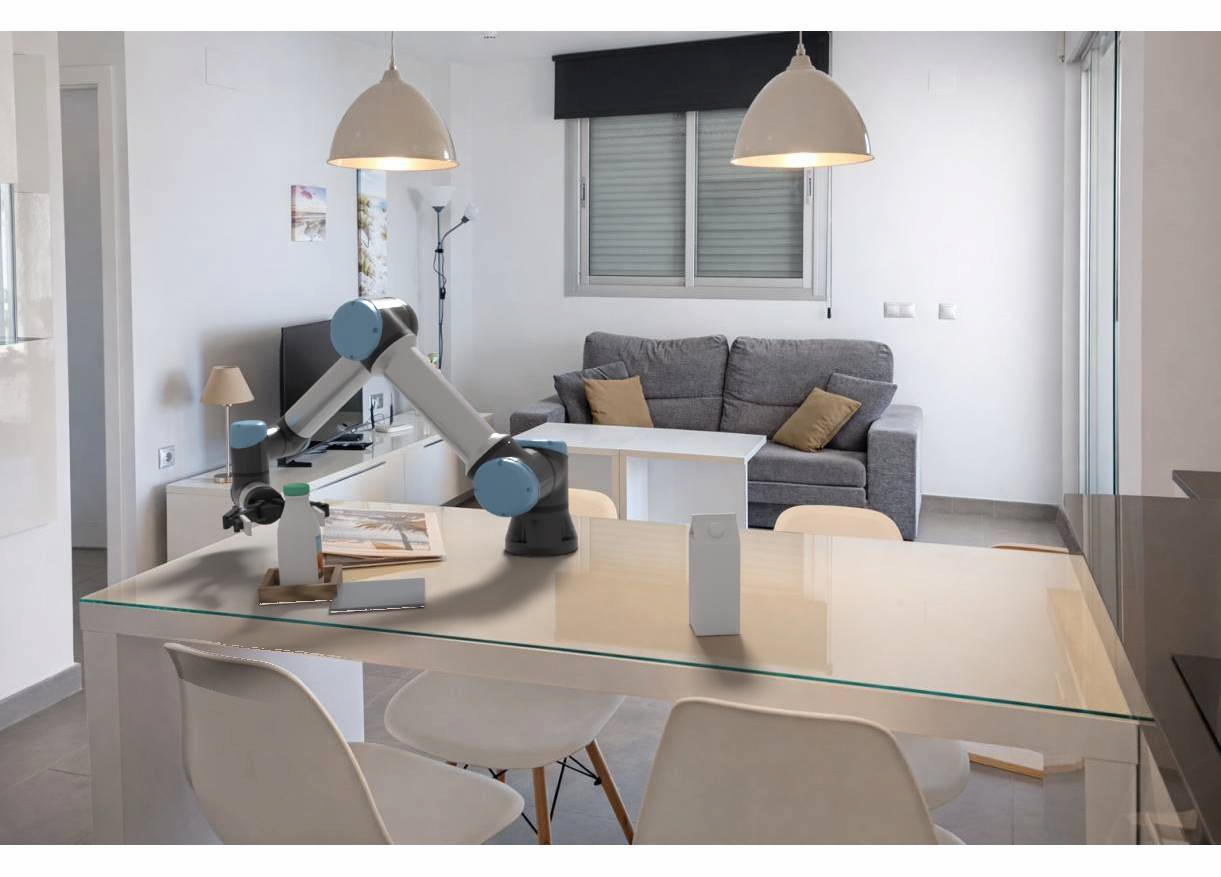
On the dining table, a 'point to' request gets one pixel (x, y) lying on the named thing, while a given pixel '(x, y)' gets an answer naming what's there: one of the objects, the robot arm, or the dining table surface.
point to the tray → (300, 587)
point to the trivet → (380, 594)
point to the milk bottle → (299, 539)
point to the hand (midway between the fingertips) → (286, 524)
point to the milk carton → (714, 574)
